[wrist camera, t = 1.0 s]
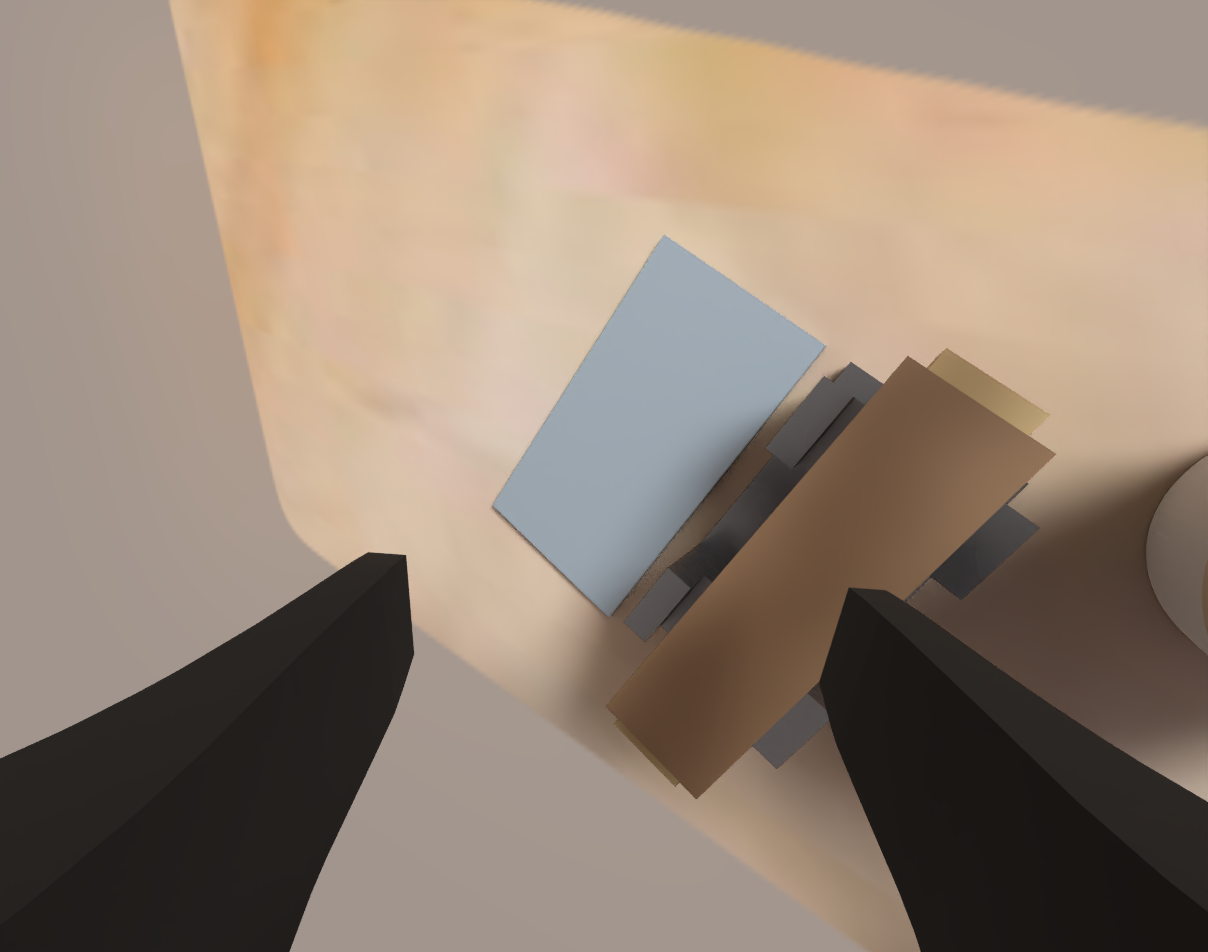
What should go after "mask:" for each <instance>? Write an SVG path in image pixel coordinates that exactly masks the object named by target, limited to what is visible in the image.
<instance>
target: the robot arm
mask: <svg viewBox="0 0 1208 952" xmlns="http://www.w3.org/2000/svg"><path fill="white" fill-rule="evenodd" d="M413 656H414V647H413V634H412V622H411V610H410V598H409V585H408V573H407V561H406V555H398V554H384V553H370V552H368V553H366V554H364V555H363V556H361V557H359V558H358V559H356V560H354V561H353V562H351V563H350V564H348V565H346V566H345V567H343V568H342V569H340V570H339V571H337V572H336V573H334V574H333V575H331V576H330V577H328V578H327V579H325V580H324V581H322V582H320V583H319V584H317V585H316V586H314V587H313V588H312V589H310V590H308V591H307V592H305V593H304V594H302V595H301V596H299V597H298V598H296V599H295V600H293V601H291V602H290V603H288V604H287V605H285V606H284V607H282V608H281V609H279V610H277V611H276V612H274V613H273V614H271V615H270V616H268V617H267V618H265V619H264V620H262V621H260V622H259V623H257V624H256V625H254V626H252V627H251V628H249V629H247V630H246V631H244V632H242V633H241V634H239V635H237V636H236V637H234V638H232V639H231V640H229V641H227V642H226V643H224V644H222V645H221V646H219V647H217V648H215V649H214V650H212V651H210V652H209V653H207V654H205V655H204V656H202V657H200V658H199V659H197V660H195V661H194V662H192V663H190V664H188V665H187V666H185V667H183V668H182V669H180V670H179V671H176V672H175V673H173V674H171V675H169V676H167V677H166V678H164V679H162V680H160V681H158V682H157V683H155V684H153V685H151V686H149V687H147V688H145V689H143V690H142V691H140V692H138V693H136V694H134V695H132V696H130V697H128V698H126V699H124V700H122V701H120V702H118V703H116V704H114V705H112V706H110V707H108V708H106V709H105V710H103V711H101V712H99V713H97V714H95V715H93V716H91V717H89V718H87V719H85V720H83V721H81V722H79V723H77V724H75V725H73V726H70V727H68V728H66V729H64V730H62V731H60V732H58V733H56V734H54V735H52V736H49V737H47V738H45V739H43V740H40V741H38V742H36V743H34V744H32V745H29V746H27V747H25V748H23V749H21V750H18V751H16V752H14V753H11V754H9V755H7V756H5V757H3V758H0V952H289V951H290V949H291V946H292V943H293V941H294V938H295V935H296V932H297V930H298V927H299V924H300V922H301V919H302V916H303V914H304V911H305V908H306V906H307V903H308V900H309V898H310V895H311V892H312V890H313V888H314V886H315V883H316V881H317V879H318V876H319V874H320V872H321V869H322V867H323V865H324V862H325V860H326V858H327V856H328V853H329V851H330V849H331V847H332V845H333V843H334V841H335V839H336V837H337V834H338V832H339V830H340V828H341V826H342V824H343V822H344V820H345V817H346V815H347V813H348V811H349V809H350V807H351V805H352V803H353V801H354V799H355V796H356V794H357V792H358V790H359V788H360V786H361V784H362V782H363V780H364V778H365V776H366V773H367V771H368V769H369V767H370V765H371V763H372V761H373V759H374V757H375V754H376V752H377V750H378V748H379V746H380V744H381V741H382V739H383V737H384V735H385V733H386V731H387V729H388V726H389V724H390V722H391V720H392V718H393V715H394V713H395V711H396V708H397V705H398V702H399V699H400V696H401V693H402V690H403V687H404V684H405V681H406V678H407V675H408V672H409V669H410V665H411V662H412V659H413ZM819 684H820V688H821V692H822V695H823V699H824V703H825V707H826V711H827V714H828V718H829V721H830V725H831V728H832V731H833V735H834V738H835V741H836V744H837V747H838V749H839V751H840V754H841V756H842V759H843V761H844V764H845V766H846V768H847V771H848V773H849V776H850V778H851V780H852V783H853V785H854V788H855V790H856V792H857V795H858V797H859V799H860V802H861V804H862V806H863V809H864V811H865V813H866V816H867V818H868V821H869V823H870V825H871V828H872V830H873V832H874V835H875V837H876V839H877V842H878V844H879V846H880V849H881V851H882V853H883V856H884V858H885V860H886V863H887V865H888V867H889V870H890V872H891V874H892V877H893V879H894V881H895V884H896V886H897V888H898V891H899V893H900V896H901V898H902V901H903V903H904V906H905V909H906V911H907V914H908V916H909V919H910V922H911V924H912V927H913V929H914V932H915V935H916V938H917V941H918V944H919V947H920V950H921V952H1208V802H1207V801H1205V800H1204V799H1202V798H1200V797H1198V796H1197V795H1195V794H1193V793H1192V792H1190V791H1188V790H1187V789H1185V788H1183V787H1181V786H1180V785H1178V784H1176V783H1175V782H1173V781H1171V780H1169V779H1168V778H1166V777H1164V776H1163V775H1161V774H1159V773H1158V772H1156V771H1154V770H1152V769H1151V768H1149V767H1147V766H1146V765H1144V764H1142V763H1141V762H1139V761H1137V760H1136V759H1134V758H1133V757H1131V756H1129V755H1128V754H1126V753H1125V752H1123V751H1121V750H1120V749H1118V748H1116V747H1115V746H1113V745H1112V744H1110V743H1108V742H1107V741H1105V740H1104V739H1102V738H1101V737H1099V736H1098V735H1096V734H1095V733H1093V732H1092V731H1090V730H1089V729H1087V728H1085V727H1084V726H1082V725H1081V724H1079V723H1078V722H1076V721H1075V720H1073V719H1072V718H1070V717H1069V716H1067V715H1066V714H1064V713H1063V712H1061V711H1060V710H1058V709H1057V708H1055V707H1053V706H1052V705H1051V704H1049V703H1048V702H1046V701H1045V700H1043V699H1042V698H1040V697H1039V696H1037V695H1036V694H1034V693H1033V692H1032V691H1030V690H1029V689H1027V688H1026V687H1024V686H1023V685H1021V684H1020V683H1019V682H1017V681H1016V680H1014V679H1013V678H1011V677H1010V676H1008V675H1007V674H1006V673H1004V672H1003V671H1001V670H1000V669H999V668H997V667H996V666H994V665H993V664H992V663H990V662H989V661H987V660H986V659H985V658H983V657H982V656H980V655H979V654H978V653H976V652H975V651H973V650H972V649H971V648H969V647H968V646H966V645H965V644H964V643H962V642H961V641H960V640H958V639H957V638H955V637H954V636H953V635H951V634H950V633H948V632H947V631H946V630H944V629H943V628H941V627H940V626H939V625H937V624H936V623H935V622H933V621H932V620H930V619H929V618H927V617H926V616H925V615H923V614H922V613H920V612H919V611H917V610H916V609H915V608H913V607H912V606H910V605H909V604H907V603H906V602H904V601H903V600H901V599H900V598H898V597H896V596H895V595H893V594H891V593H890V592H888V591H886V590H878V589H864V588H851V587H849V588H848V591H847V594H846V598H845V601H844V604H843V607H842V610H841V614H840V617H839V620H838V623H837V626H836V630H835V633H834V636H833V639H832V642H831V646H830V649H829V652H828V655H827V658H826V662H825V665H824V668H823V671H822V674H821V678H820V681H819Z"/></svg>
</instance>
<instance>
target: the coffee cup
mask: <svg viewBox="0 0 1208 952" xmlns="http://www.w3.org/2000/svg"><path fill="white" fill-rule="evenodd" d="M1146 562H1147V570H1148V575H1149V579H1150V582H1151V585H1152V588H1153V590H1154V593H1155V595H1156V597H1157V599H1158V601H1159V603H1160V605H1161V606H1162V608H1163V609H1164V611H1165V612H1166V614H1167V615H1168V616H1169V618H1170V619H1171V620H1172V621H1173V623H1174V624H1175V625H1176V626H1177V627H1178V628H1179V629H1180V630H1181V631H1182V632H1183V633H1184V634H1185V635H1186V636H1187V637H1188V638H1189V639H1190V640H1191V641H1192V642H1193V643H1195V644H1196V645H1197V646H1198V647H1199V648H1200V649H1201V650H1202V651H1203V652H1204V653H1205V654H1206V655H1207V656H1208V455H1207V456H1205V457H1204V458H1202V459H1201V460H1200V461H1198V462H1197V463H1196V464H1194V465H1193V466H1192V467H1191V468H1189V469H1188V470H1187V471H1186V472H1185V473H1184V474H1183V475H1182V476H1181V477H1180V478H1179V479H1178V480H1177V481H1176V482H1175V483H1174V484H1173V485H1172V487H1171V488H1170V489H1169V490H1168V492H1167V493H1166V494H1165V496H1164V497H1163V499H1162V500H1161V502H1160V504H1159V506H1158V508H1157V509H1156V512H1155V514H1154V516H1153V519H1152V521H1151V525H1150V528H1149V532H1148V536H1147V544H1146Z"/></svg>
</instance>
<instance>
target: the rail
mask: <svg viewBox="0 0 1208 952" xmlns="http://www.w3.org/2000/svg"><path fill="white" fill-rule="evenodd" d="M1049 415H1050V414H1048V413H1047V412H1045V411H1044V410H1042V409H1040V408H1039V407H1037V406H1036V405H1034V404H1033V403H1031V402H1030V401H1028V400H1026V399H1025V398H1023V397H1022V396H1020V395H1019V394H1017V393H1016V392H1014V391H1012V390H1011V389H1009V388H1008V387H1006V386H1005V385H1003V384H1002V383H1000V382H998V381H997V380H995V379H994V378H992V377H991V376H989V375H988V374H986V373H984V372H983V371H981V370H980V369H978V368H977V367H975V366H974V365H972V364H970V363H969V362H967V361H966V360H964V359H963V358H961V357H960V356H958V355H956V354H955V353H953V352H952V351H950V350H949V349H947V348H946V349H945V350H944V351H943V352H942V353H941V354H940V355H939V356H937V357H936V358H935V360H934V361H933V362H932V363H931V364H930V365H929V366H928V367H927V368H925V367H924V366H922V365H921V364H919V363H918V362H916V361H915V360H913V359H912V358H910V357H909V356H907V357H906V359H905V360H904V361H903V362H902V363H901V364H900V366H899V367H898V368H897V369H896V370H895V371H894V373H893V374H892V375H891V376H890V377H889V378H888V379H887V381H886V382H885V383H884V384H883V385H882V386H881V388H880V389H879V390H878V391H877V392H876V393H875V395H874V396H873V397H872V398H871V399H870V400H869V401H868V403H867V404H866V405H865V406H864V407H863V408H862V410H861V411H860V412H859V413H858V414H857V415H856V417H855V418H854V419H853V420H852V421H851V422H850V424H849V425H848V426H847V427H846V428H845V429H844V430H843V432H842V433H841V434H840V435H839V436H838V437H837V439H836V440H835V441H834V442H833V443H832V444H831V446H830V447H829V448H828V449H827V450H826V451H825V452H824V454H823V455H822V456H821V457H820V458H819V459H818V461H817V462H816V463H815V464H814V465H813V466H812V468H811V469H810V470H809V471H808V472H807V473H806V474H805V476H804V477H803V478H802V479H801V480H800V481H799V483H798V484H797V485H796V486H795V487H794V488H793V490H792V491H791V492H790V493H789V494H788V495H787V497H786V498H785V499H784V500H783V501H782V502H781V503H780V505H779V506H778V507H777V508H776V509H775V510H774V512H773V513H772V514H771V515H770V516H769V517H768V519H767V520H766V521H765V522H764V523H763V524H762V525H761V527H760V528H759V529H758V530H757V531H756V532H755V534H754V535H753V536H752V537H751V538H750V539H749V541H748V542H747V543H746V544H745V545H744V546H743V547H742V549H741V550H740V551H739V552H738V553H737V554H736V556H735V557H734V558H733V559H732V560H731V561H730V563H729V564H728V565H727V566H726V567H725V568H724V570H723V571H722V572H721V573H720V574H719V575H718V576H717V578H716V579H715V580H714V581H713V582H712V583H711V585H710V586H709V587H708V588H707V589H706V590H705V592H704V593H703V594H702V595H701V596H700V597H699V598H698V600H697V601H696V602H695V603H694V604H693V605H692V607H691V608H690V609H689V610H688V611H687V612H686V614H685V615H684V616H683V617H682V618H681V619H680V620H679V622H678V623H677V624H676V625H675V626H674V627H673V629H672V630H671V631H670V632H669V633H668V634H667V636H666V637H665V638H664V639H663V640H662V641H661V643H660V644H659V645H658V646H657V647H656V648H655V649H654V651H653V652H652V653H651V654H650V655H649V656H648V658H647V659H646V660H645V661H644V662H643V663H642V665H641V666H640V667H639V668H638V669H637V670H636V671H635V673H634V674H633V675H632V676H631V677H630V678H629V680H628V681H627V682H626V683H625V684H624V685H623V687H622V688H621V689H620V690H619V691H618V692H617V693H616V695H615V696H614V697H613V698H612V699H611V700H610V702H609V703H608V704H607V705H606V707H607V708H608V709H609V710H610V711H611V712H612V713H613V714H614V715H615V716H616V717H617V718H618V719H617V721H616V722H615V723H614V724H615V725H616V726H617V727H618V728H619V729H620V730H621V731H622V732H623V733H624V734H625V736H626V737H627V738H628V739H629V740H630V741H631V742H632V743H633V744H634V745H635V746H636V747H637V748H638V749H639V750H640V751H641V752H642V753H643V754H644V755H645V756H646V757H647V758H648V759H649V760H650V761H651V762H652V763H653V764H654V766H655V767H656V768H657V769H658V770H659V771H660V772H661V773H662V774H663V775H664V776H665V777H666V778H667V779H668V780H669V781H670V782H671V783H672V784H673V785H674V786H675V787H676V786H677V785H678V784H679V783H681V784H682V785H683V786H684V787H685V788H686V789H687V790H688V791H689V792H690V793H691V794H692V795H693V797H694V798H695V799H697V798H698V797H699V796H700V795H701V794H703V793H704V792H705V791H706V790H707V789H708V788H709V787H710V786H711V785H712V784H713V783H714V782H715V781H716V780H717V779H718V778H719V777H720V776H721V775H722V774H723V773H724V772H725V771H726V770H728V769H729V768H730V767H731V766H732V765H733V764H734V763H735V762H736V761H737V760H738V759H739V758H740V757H741V756H742V755H743V754H744V753H745V752H746V751H747V750H748V749H749V748H750V747H751V746H753V745H754V744H755V743H756V742H757V741H758V740H759V739H760V738H761V737H762V736H763V735H764V734H765V733H766V732H767V731H768V730H769V729H770V728H771V727H772V726H773V725H774V724H775V723H777V722H778V721H779V720H780V719H781V718H782V717H783V716H784V715H785V714H786V713H787V712H788V711H789V710H790V709H791V708H792V707H793V706H794V705H795V704H796V703H797V702H798V701H799V700H800V699H802V698H803V697H804V696H805V695H806V694H807V693H808V692H809V691H810V690H811V689H812V688H813V687H814V686H815V685H816V684H817V683H818V682H819V681H820V678H821V674H822V671H823V668H824V665H825V662H826V658H827V655H828V652H829V649H830V646H831V642H832V639H833V636H834V633H835V630H836V626H837V623H838V620H839V617H840V614H841V610H842V607H843V604H844V601H845V598H846V594H847V591H848V588H849V587H851V588H864V589H878V590H886V591H888V592H890V593H891V594H893V595H895V596H896V597H898V598H900V599H901V600H903V601H904V600H905V599H906V598H907V597H908V596H909V595H910V594H911V593H912V592H913V591H914V590H915V589H916V588H917V587H918V586H919V585H920V584H921V583H922V582H923V581H924V580H926V579H927V578H928V577H929V576H930V575H931V574H932V573H933V572H934V571H935V570H936V569H937V568H938V567H939V566H940V565H941V564H942V563H943V562H944V561H945V560H946V559H947V558H948V557H950V556H951V555H952V554H953V553H954V552H955V551H956V550H957V549H958V548H959V547H960V546H961V545H962V544H963V543H964V542H965V541H966V540H967V539H968V538H969V537H970V536H971V535H972V534H973V533H975V532H976V531H977V530H978V529H979V528H980V527H981V526H982V525H983V524H984V523H985V522H986V521H987V520H988V519H989V518H990V517H991V516H992V515H993V514H994V513H995V512H996V511H997V510H998V509H1000V508H1001V507H1002V506H1003V505H1004V504H1005V503H1006V502H1007V501H1008V500H1009V499H1010V498H1011V497H1012V496H1013V495H1014V494H1015V493H1016V492H1017V491H1018V490H1019V489H1020V488H1021V487H1022V486H1023V485H1025V484H1026V483H1027V482H1028V481H1029V480H1030V479H1031V478H1032V477H1033V476H1034V475H1035V474H1036V473H1037V472H1038V471H1039V470H1040V469H1041V468H1042V467H1043V466H1044V465H1045V464H1046V463H1047V462H1049V461H1050V460H1051V459H1052V458H1053V457H1054V456H1055V455H1056V454H1055V453H1054V452H1052V451H1051V450H1049V449H1048V448H1046V447H1045V446H1043V445H1042V444H1040V443H1039V442H1037V441H1036V440H1034V439H1033V438H1031V437H1030V436H1029V435H1030V434H1031V433H1032V432H1033V431H1034V430H1035V429H1036V428H1037V427H1038V426H1039V425H1040V424H1041V423H1042V422H1043V421H1044V420H1045V419H1046V418H1047V417H1048V416H1049Z"/></svg>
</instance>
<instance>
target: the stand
mask: <svg viewBox="0 0 1208 952" xmlns="http://www.w3.org/2000/svg"><path fill="white" fill-rule="evenodd" d="M882 385H883V384H882V383H881V382H879V381H878V380H876V379H875V378H874V377H872V376H871V375H869V374H868V373H866V372H865V371H863V370H862V369H860V368H859V367H857V366H856V365H855V364H853V363H852V362H850V364H849V365H848V366H847V367H846V368H845V370H844V371H843V372H842V373H841V374H840V376H839V377H838V378H837V379H836V380H835V382H832V381H831V380H829V379H828V378H826V377H825V376H824V377H823V378H822V379H821V380H820V382H819V383H818V384H817V385H816V387H815V388H814V389H813V390H812V391H811V393H810V394H809V395H808V396H807V398H806V399H805V400H804V401H803V403H802V404H801V405H800V406H799V407H798V409H797V410H796V411H795V412H794V414H793V415H792V416H791V417H790V418H789V420H788V421H787V422H786V423H785V425H784V426H783V427H782V428H781V430H780V431H779V432H778V433H777V434H776V436H775V437H774V438H773V439H772V441H771V442H770V443H769V444H768V445H767V447H766V448H765V449H767V450H768V451H769V452H771V453H772V454H773V455H774V456H773V457H772V458H771V459H770V460H769V462H768V463H767V464H766V465H765V466H764V468H763V469H762V470H761V471H760V472H759V474H758V475H757V476H756V477H755V479H754V480H753V481H752V482H751V483H750V485H749V486H748V487H747V488H746V489H745V491H744V492H743V493H742V494H741V496H740V497H739V498H738V499H737V500H736V502H735V503H734V504H733V505H732V506H731V508H730V509H729V510H728V511H727V512H726V514H725V515H724V516H723V517H722V519H721V520H720V521H719V522H718V523H717V525H716V526H715V527H714V528H713V529H712V531H711V532H710V533H709V534H708V535H707V537H706V538H705V539H704V540H703V542H702V543H701V544H699V545H698V546H697V547H695V548H694V549H692V550H691V551H690V552H688V553H687V554H686V555H684V556H683V557H682V558H680V559H679V560H678V561H676V562H675V563H674V564H672V565H671V566H670V567H668V568H667V569H666V571H665V572H664V573H663V574H662V576H661V577H660V578H659V579H658V580H657V582H656V583H655V584H654V585H653V587H652V588H651V589H650V590H649V592H648V593H647V594H646V595H645V596H644V598H643V599H642V600H641V601H640V603H639V604H638V605H637V606H636V607H635V609H634V610H633V611H632V612H631V614H630V615H629V616H628V617H627V619H626V620H625V621H624V623H625V624H626V625H627V626H628V627H630V628H631V629H632V630H633V631H634V632H635V633H636V634H637V635H638V636H639V637H640V638H641V639H642V640H643V641H644V642H646V641H647V640H648V639H649V638H650V637H651V636H652V635H653V634H654V633H655V632H656V631H657V630H658V629H659V628H660V627H663V628H664V629H665V630H666V631H667V632H668V633H669V632H670V631H671V630H672V629H673V627H674V626H675V625H676V624H677V623H678V622H679V620H680V619H681V618H682V617H683V616H684V615H685V614H686V612H687V611H688V610H689V609H690V608H691V607H692V605H693V604H694V603H695V602H696V601H697V600H698V598H699V597H700V596H701V595H702V594H703V593H704V592H705V590H706V589H707V588H708V587H709V586H710V585H711V583H712V582H713V581H714V580H715V579H716V578H717V576H718V575H719V574H720V573H721V572H722V571H723V570H724V568H725V567H726V566H727V565H728V564H729V563H730V561H731V560H732V559H733V558H734V557H735V556H736V554H737V553H738V552H739V551H740V550H741V549H742V547H743V546H744V545H745V544H746V543H747V542H748V541H749V539H750V538H751V537H752V536H753V535H754V534H755V532H756V531H757V530H758V529H759V528H760V527H761V525H762V524H763V523H764V522H765V521H766V520H767V519H768V517H769V516H770V515H771V514H772V513H773V512H774V510H775V509H776V508H777V507H778V506H779V505H780V503H781V502H782V501H783V500H784V499H785V498H786V497H787V495H788V494H789V493H790V492H791V491H792V490H793V488H794V487H795V486H796V485H797V484H798V483H799V481H800V480H801V479H802V478H803V477H804V476H805V474H806V473H807V472H808V471H809V470H810V469H811V468H812V466H813V465H814V464H815V463H816V462H817V461H818V459H819V458H820V457H821V456H822V455H823V454H824V452H825V451H826V450H827V449H828V448H829V447H830V446H831V444H832V443H833V442H834V441H835V440H836V439H837V437H838V436H839V435H840V434H841V433H842V432H843V430H844V429H845V428H846V427H847V426H848V425H849V424H850V422H851V421H852V420H853V419H854V418H855V417H856V415H857V414H858V413H859V412H860V411H861V410H862V408H863V407H864V406H865V405H866V404H867V403H868V401H869V400H870V399H871V398H872V397H873V396H874V395H875V393H876V392H877V391H878V390H879V389H880V388H881V386H882ZM1027 485H1028V483H1026V484H1025V485H1023V486H1022V487H1021V488H1020V489H1019V490H1018V491H1017V492H1016V493H1015V494H1014V495H1013V496H1012V497H1011V498H1010V499H1009V500H1008V501H1007V502H1006V503H1005V504H1004V505H1003V506H1002V507H1001V508H1000V509H998V510H997V511H996V512H995V513H994V514H993V515H992V516H991V517H990V518H989V519H988V520H987V521H986V522H985V523H984V524H983V525H982V526H981V527H980V528H979V529H978V530H977V531H976V532H975V533H973V534H972V535H971V536H970V537H969V538H968V539H967V540H966V541H965V542H964V543H963V544H962V545H961V546H960V547H959V548H958V549H957V550H956V551H955V552H954V553H953V554H952V555H951V556H950V557H948V558H947V559H946V560H945V561H944V562H943V563H942V564H941V565H940V566H939V567H938V568H937V569H936V570H935V571H934V572H933V573H932V574H931V575H930V576H929V577H928V578H927V579H926V580H924V581H923V582H922V583H921V584H920V585H919V586H918V587H917V588H916V589H915V590H914V591H913V592H912V593H911V594H910V595H909V596H908V597H907V598H906V599H905V600H904V602H906V601H907V600H908V599H909V598H910V597H911V596H912V595H913V594H914V593H915V592H916V591H917V590H918V589H919V588H920V587H921V586H922V585H923V584H924V583H925V582H927V581H928V580H929V579H930V578H931V577H932V578H933V579H935V580H936V581H937V582H939V583H940V584H941V585H942V586H944V587H945V588H946V589H948V590H949V591H950V592H951V593H953V594H954V595H955V596H957V597H958V598H959V599H960V600H962V599H963V598H964V597H965V596H966V595H967V594H968V593H969V592H970V591H972V590H973V589H974V588H975V587H976V586H977V585H978V584H979V583H980V582H981V581H982V580H984V579H985V578H986V577H987V576H988V575H989V574H990V573H991V572H992V571H993V570H995V569H996V568H997V567H998V566H999V565H1000V564H1001V563H1002V562H1003V561H1004V560H1005V559H1007V558H1008V557H1009V556H1010V555H1011V554H1012V553H1013V552H1014V551H1015V550H1016V549H1017V548H1019V547H1020V546H1021V545H1022V544H1023V543H1024V542H1025V541H1026V540H1027V539H1028V538H1029V537H1031V536H1032V535H1033V534H1034V533H1035V532H1036V531H1037V530H1038V529H1039V527H1038V526H1036V525H1035V524H1034V523H1032V522H1031V521H1029V520H1028V519H1026V518H1025V517H1024V516H1022V515H1021V514H1019V513H1018V512H1016V511H1015V510H1014V509H1012V508H1011V507H1009V506H1008V505H1007V504H1008V503H1009V502H1010V501H1011V500H1012V499H1013V498H1014V497H1015V496H1016V495H1017V494H1018V493H1020V492H1021V491H1022V490H1023V489H1024V488H1025V487H1026V486H1027ZM827 722H829V718H828V714H827V711H826V707H825V703H824V699H823V695H822V692H821V688H820V684H819V682H818V683H817V684H816V685H815V686H814V687H813V688H812V689H811V690H810V691H809V692H808V693H807V694H806V695H805V696H804V697H803V698H802V699H800V700H799V701H798V702H797V703H796V704H795V705H794V706H793V707H792V708H791V709H790V710H789V711H788V712H787V713H786V714H785V715H784V716H783V717H782V718H781V719H780V720H779V721H778V722H777V723H775V724H774V725H773V726H772V727H771V728H770V729H769V730H768V731H767V732H766V733H765V734H764V735H763V736H762V737H761V738H760V739H759V740H758V741H757V742H756V743H755V744H754V745H753V747H754V748H755V749H757V750H758V751H759V752H760V753H761V754H762V755H763V756H764V757H765V758H766V759H767V760H768V761H769V762H770V763H771V764H772V765H773V766H774V767H775V768H776V769H777V768H778V767H779V766H781V765H782V764H783V763H784V762H785V761H786V760H787V759H788V758H789V757H790V756H791V755H793V754H794V753H795V752H796V751H797V750H798V749H799V748H800V747H801V746H802V745H803V744H805V743H806V742H807V741H808V740H809V739H810V738H811V737H812V736H813V735H814V734H815V733H817V732H818V731H819V730H820V729H821V728H822V727H823V726H824V725H825V724H826V723H827Z"/></svg>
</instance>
